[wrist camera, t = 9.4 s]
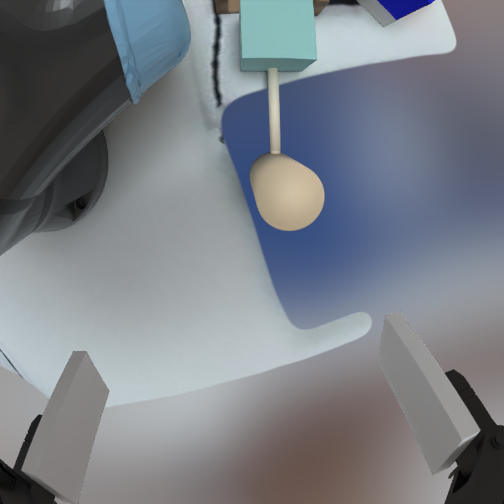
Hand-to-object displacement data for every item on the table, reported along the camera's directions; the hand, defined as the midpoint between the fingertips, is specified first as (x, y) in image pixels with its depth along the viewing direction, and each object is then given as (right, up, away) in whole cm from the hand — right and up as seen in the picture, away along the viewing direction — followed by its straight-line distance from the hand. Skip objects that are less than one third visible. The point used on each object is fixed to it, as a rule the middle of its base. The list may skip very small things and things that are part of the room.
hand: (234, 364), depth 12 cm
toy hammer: (+3, +19, +16) cm, 25 cm away
